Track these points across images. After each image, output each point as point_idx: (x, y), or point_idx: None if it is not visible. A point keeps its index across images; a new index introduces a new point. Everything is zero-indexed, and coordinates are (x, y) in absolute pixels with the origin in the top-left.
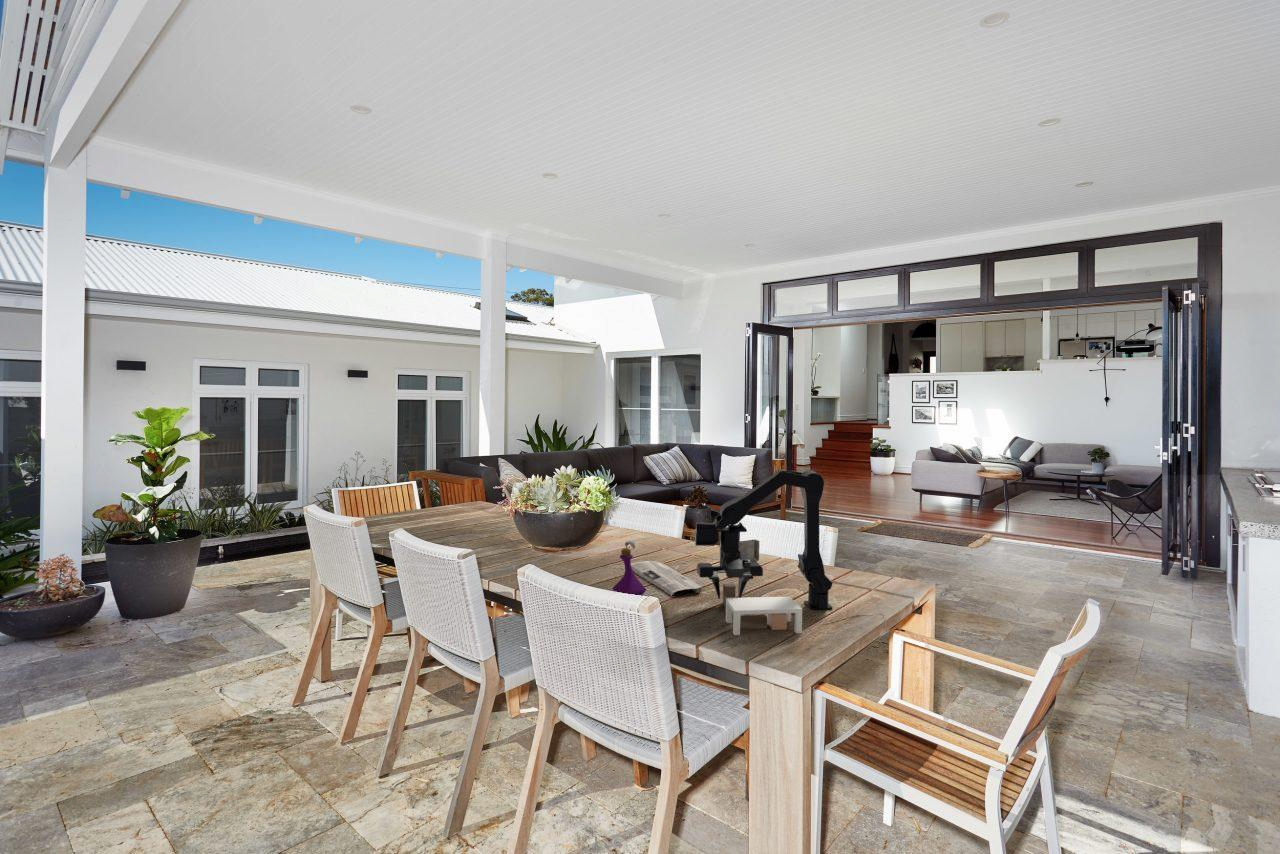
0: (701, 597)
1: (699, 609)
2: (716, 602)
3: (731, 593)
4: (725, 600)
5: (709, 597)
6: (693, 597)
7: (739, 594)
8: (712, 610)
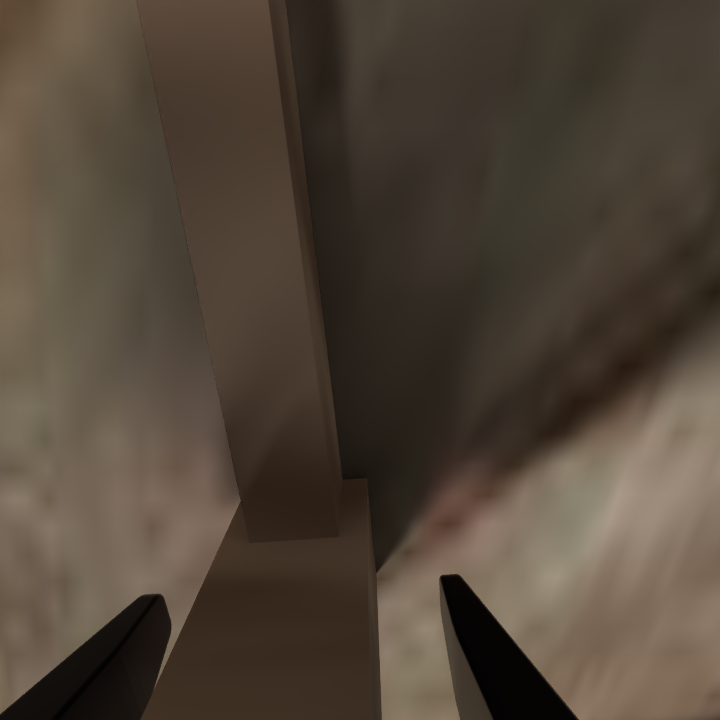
0: None
1: (702, 392)
2: None
3: (252, 630)
4: (363, 531)
5: None
6: (643, 713)
7: (126, 640)
8: (547, 359)
